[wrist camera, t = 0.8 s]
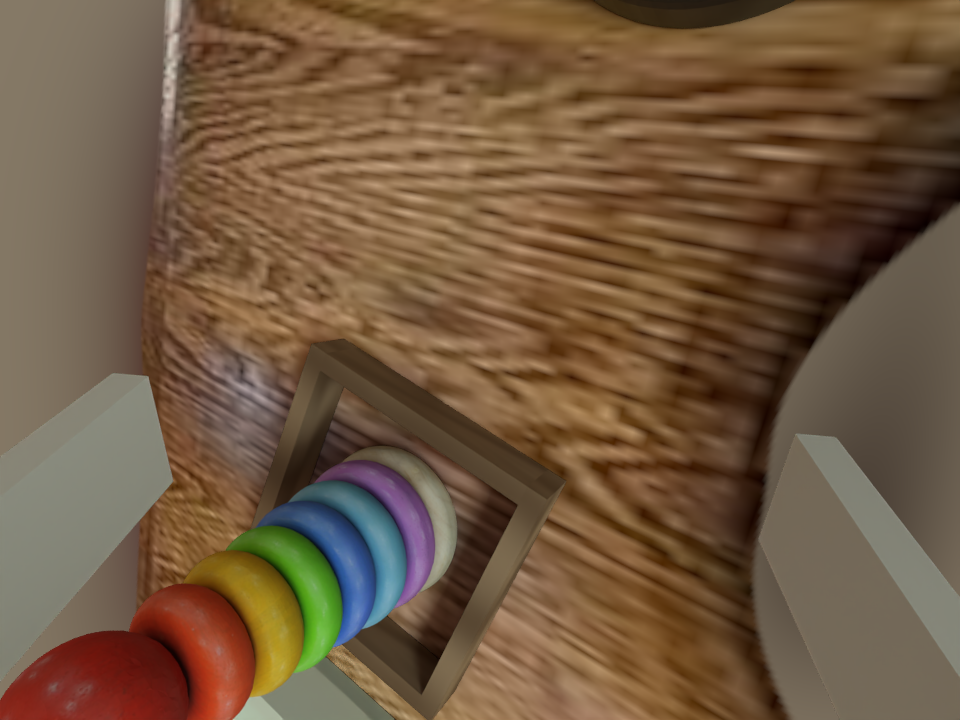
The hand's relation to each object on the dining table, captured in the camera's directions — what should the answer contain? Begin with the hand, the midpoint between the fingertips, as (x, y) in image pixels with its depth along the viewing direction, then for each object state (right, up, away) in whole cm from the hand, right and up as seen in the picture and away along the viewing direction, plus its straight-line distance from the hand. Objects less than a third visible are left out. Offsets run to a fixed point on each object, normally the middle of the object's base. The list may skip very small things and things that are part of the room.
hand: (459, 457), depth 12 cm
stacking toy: (-4, -6, +20) cm, 21 cm away
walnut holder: (-4, -6, +20) cm, 21 cm away
